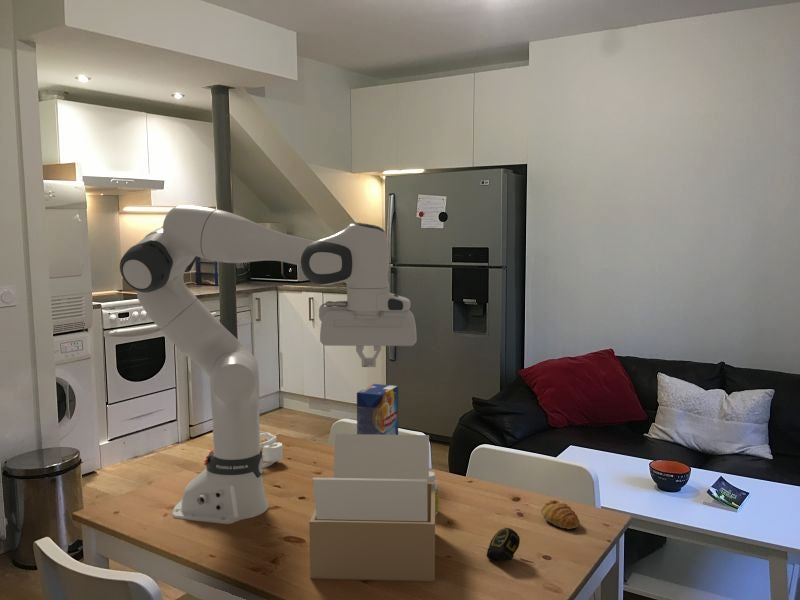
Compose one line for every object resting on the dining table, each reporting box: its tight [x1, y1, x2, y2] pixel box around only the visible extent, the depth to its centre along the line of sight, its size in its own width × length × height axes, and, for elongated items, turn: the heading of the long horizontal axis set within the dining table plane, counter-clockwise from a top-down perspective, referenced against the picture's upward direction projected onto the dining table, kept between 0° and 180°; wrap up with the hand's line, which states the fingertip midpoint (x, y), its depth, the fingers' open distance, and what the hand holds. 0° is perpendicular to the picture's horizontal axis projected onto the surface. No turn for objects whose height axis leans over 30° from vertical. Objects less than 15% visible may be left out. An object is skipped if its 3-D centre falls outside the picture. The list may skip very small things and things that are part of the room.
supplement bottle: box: [427, 470, 439, 516], centre depth 164 cm, size 5×5×10 cm
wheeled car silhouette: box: [260, 432, 284, 469], centre depth 197 cm, size 20×11×7 cm, turn 146°
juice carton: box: [356, 383, 399, 435], centre depth 191 cm, size 12×8×24 cm, turn 159°
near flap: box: [312, 477, 428, 521], centre depth 128 cm, size 21×10×1 cm
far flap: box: [332, 433, 430, 481], centre depth 153 cm, size 21×10×1 cm
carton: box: [308, 482, 436, 583], centre depth 142 cm, size 24×22×12 cm
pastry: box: [540, 499, 581, 530], centre depth 158 cm, size 9×7×4 cm
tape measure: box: [486, 527, 521, 562], centre depth 139 cm, size 7×7×4 cm
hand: (368, 366), depth 144 cm, fingers closed
